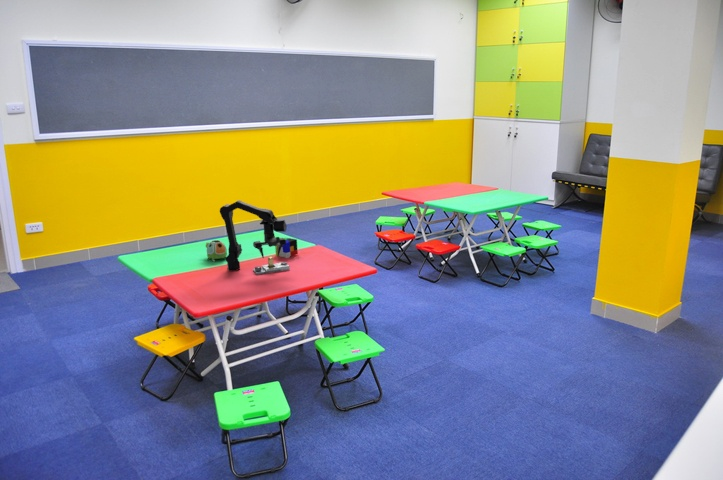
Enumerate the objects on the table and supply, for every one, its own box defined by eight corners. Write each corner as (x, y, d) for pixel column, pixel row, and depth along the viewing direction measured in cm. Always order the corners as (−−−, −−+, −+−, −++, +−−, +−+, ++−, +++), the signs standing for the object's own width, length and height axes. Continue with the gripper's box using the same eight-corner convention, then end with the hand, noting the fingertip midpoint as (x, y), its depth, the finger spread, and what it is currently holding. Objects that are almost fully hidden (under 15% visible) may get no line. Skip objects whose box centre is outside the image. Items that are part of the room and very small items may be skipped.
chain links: (256, 274, 335) (256, 269, 334) (253, 270, 343) (252, 265, 342) (289, 269, 343) (289, 264, 342) (285, 265, 351) (284, 261, 350)
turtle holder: (217, 253, 381) (215, 236, 378) (231, 258, 369) (229, 241, 365) (200, 257, 373) (198, 240, 370) (214, 263, 360) (212, 245, 357)
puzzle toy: (286, 258, 367) (286, 243, 364) (275, 255, 373) (274, 240, 370) (297, 254, 375) (296, 239, 372) (286, 252, 381) (285, 237, 378)
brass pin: (269, 271, 341) (268, 258, 339) (268, 269, 344) (267, 257, 342) (274, 270, 342) (273, 257, 340) (273, 269, 345) (272, 256, 343)
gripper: (256, 236, 326) (258, 262, 330) (288, 232, 333) (289, 257, 337) (251, 232, 336) (254, 257, 340) (282, 228, 343) (284, 253, 347)
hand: (270, 256), depth 341 cm, fingers open, 9 cm apart
